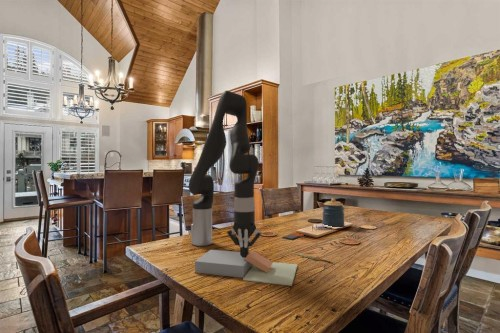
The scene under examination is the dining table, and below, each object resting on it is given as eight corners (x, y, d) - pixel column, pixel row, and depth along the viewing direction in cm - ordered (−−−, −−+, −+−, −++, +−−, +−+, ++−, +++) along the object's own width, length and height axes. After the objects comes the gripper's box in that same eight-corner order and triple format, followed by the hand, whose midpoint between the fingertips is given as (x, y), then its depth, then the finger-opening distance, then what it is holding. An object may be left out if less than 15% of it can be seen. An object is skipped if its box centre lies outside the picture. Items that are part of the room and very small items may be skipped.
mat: (243, 280, 93) (243, 278, 93) (256, 261, 110) (256, 260, 110) (291, 285, 88) (291, 284, 88) (297, 265, 106) (297, 264, 106)
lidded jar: (323, 229, 165) (323, 199, 165) (321, 224, 178) (321, 196, 178) (346, 230, 163) (346, 199, 163) (342, 225, 176) (342, 197, 175)
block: (245, 259, 99) (247, 255, 99) (249, 254, 105) (251, 250, 105) (267, 273, 97) (269, 268, 97) (270, 267, 103) (273, 262, 103)
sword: (278, 252, 124) (278, 250, 124) (283, 250, 127) (283, 248, 127) (330, 264, 107) (330, 262, 107) (335, 262, 110) (335, 260, 110)
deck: (195, 272, 99) (194, 261, 99) (210, 259, 113) (210, 249, 113) (243, 277, 95) (243, 266, 95) (253, 263, 108) (253, 253, 108)
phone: (307, 233, 152) (292, 239, 141) (307, 235, 152) (292, 241, 141) (297, 231, 156) (281, 236, 145) (297, 233, 156) (281, 239, 145)
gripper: (223, 210, 100) (223, 258, 100) (259, 211, 96) (259, 262, 96) (230, 207, 107) (230, 252, 107) (264, 208, 103) (264, 255, 103)
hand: (244, 257), depth 102 cm, fingers closed
